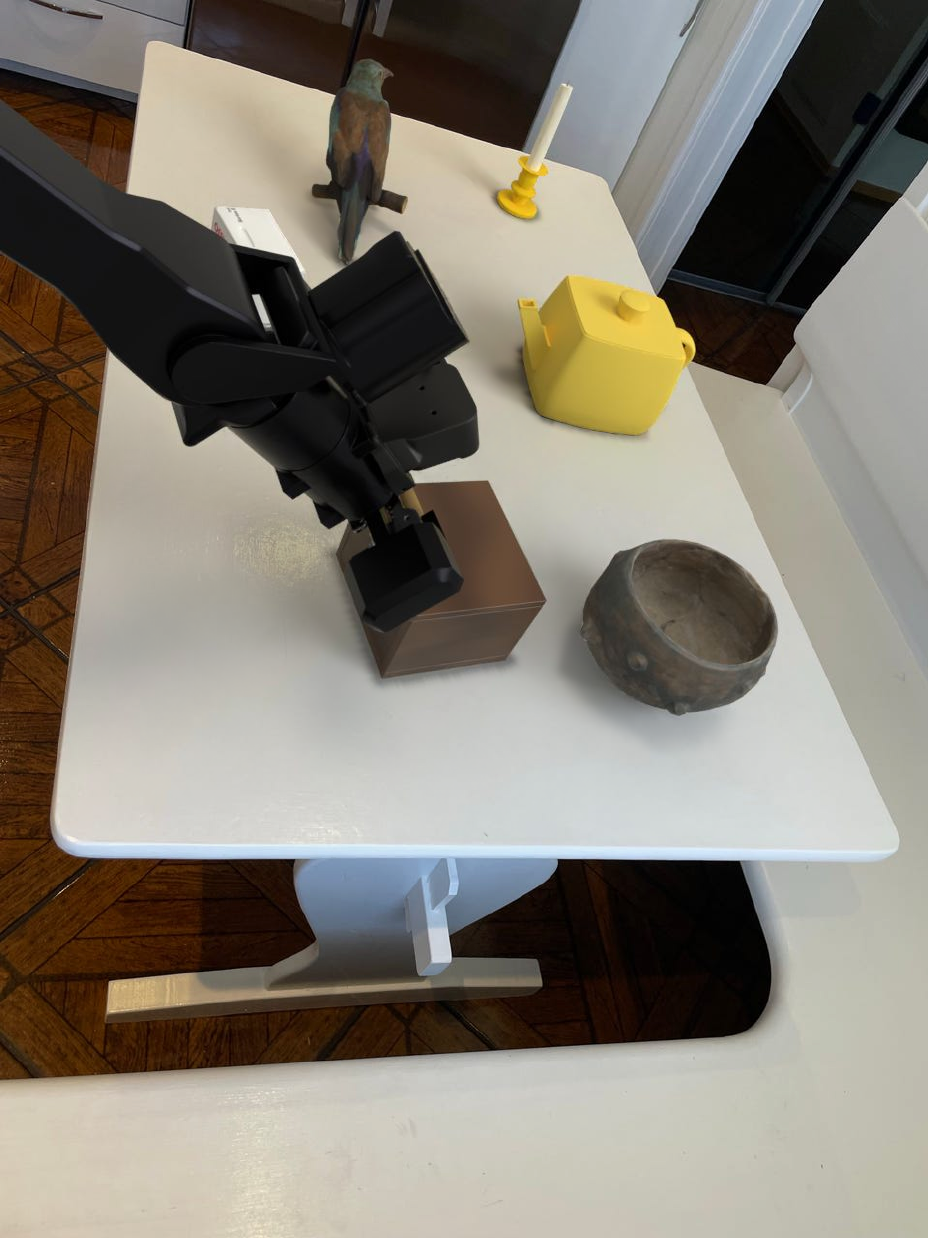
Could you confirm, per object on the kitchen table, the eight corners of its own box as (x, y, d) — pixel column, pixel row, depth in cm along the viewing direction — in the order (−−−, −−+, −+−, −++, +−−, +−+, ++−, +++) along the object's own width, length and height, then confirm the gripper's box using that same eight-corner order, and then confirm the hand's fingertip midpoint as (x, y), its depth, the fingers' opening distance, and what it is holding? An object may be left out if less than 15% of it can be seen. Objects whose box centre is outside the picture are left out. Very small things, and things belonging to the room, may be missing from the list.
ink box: (281, 385, 82) (311, 271, 73) (228, 390, 79) (251, 272, 70) (245, 320, 85) (269, 204, 76) (192, 322, 82) (211, 202, 73)
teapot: (494, 414, 90) (544, 314, 81) (477, 332, 97) (521, 232, 88) (670, 448, 97) (734, 360, 88) (643, 369, 104) (699, 280, 95)
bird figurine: (399, 278, 96) (447, 64, 89) (304, 252, 93) (347, 29, 86) (383, 271, 108) (424, 82, 101) (298, 248, 105) (335, 52, 98)
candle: (491, 189, 116) (542, 62, 104) (527, 196, 118) (581, 72, 106) (504, 215, 113) (557, 87, 101) (540, 221, 115) (597, 97, 104)
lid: (403, 622, 61) (424, 582, 58) (351, 490, 67) (368, 447, 63) (544, 605, 67) (570, 568, 64) (485, 485, 72) (506, 444, 69)
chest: (381, 679, 67) (411, 622, 62) (335, 553, 73) (359, 490, 67) (505, 660, 72) (543, 606, 67) (453, 544, 78) (485, 485, 72)
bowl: (748, 724, 77) (824, 659, 70) (602, 761, 70) (670, 693, 62) (669, 590, 84) (730, 518, 76) (527, 611, 76) (581, 533, 69)
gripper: (492, 477, 45) (578, 590, 59) (375, 237, 54) (473, 384, 67) (304, 587, 47) (428, 672, 61) (219, 339, 56) (345, 462, 69)
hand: (421, 539), depth 65 cm, fingers closed on lid, 5 cm apart
